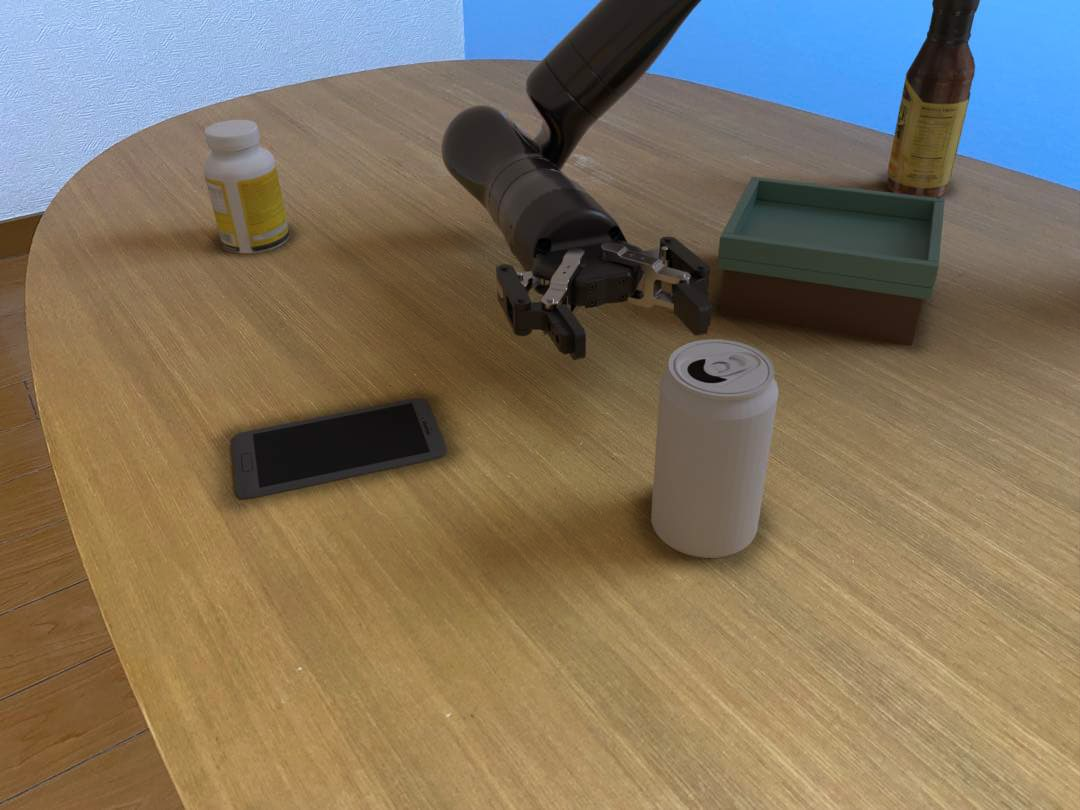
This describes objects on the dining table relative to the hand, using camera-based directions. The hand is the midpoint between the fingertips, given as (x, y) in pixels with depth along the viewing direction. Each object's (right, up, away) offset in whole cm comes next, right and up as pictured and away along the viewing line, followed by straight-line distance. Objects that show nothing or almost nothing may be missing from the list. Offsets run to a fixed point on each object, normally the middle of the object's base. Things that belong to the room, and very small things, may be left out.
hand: (643, 335), depth 60 cm
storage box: (+17, +4, +20) cm, 27 cm away
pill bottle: (-34, +11, +32) cm, 48 cm away
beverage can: (+3, -12, -3) cm, 13 cm away
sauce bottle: (+33, +18, +39) cm, 54 cm away
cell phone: (-20, -8, +4) cm, 22 cm away
